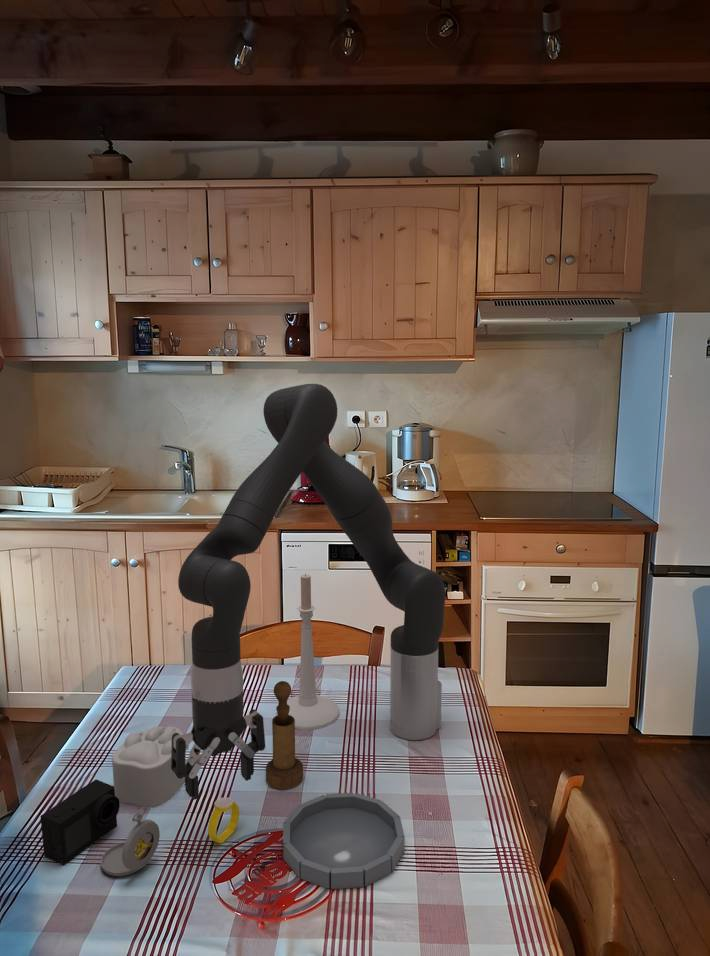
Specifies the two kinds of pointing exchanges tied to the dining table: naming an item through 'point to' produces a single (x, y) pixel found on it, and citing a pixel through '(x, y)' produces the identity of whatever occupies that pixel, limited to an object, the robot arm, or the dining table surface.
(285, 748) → the mortar and pestle
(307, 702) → the candlestick
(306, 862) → the round dish
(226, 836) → the watch
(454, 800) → the dining table surface
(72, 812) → the digital camera
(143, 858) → the pocket watch
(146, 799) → the lumpy-topped squat cylinder
